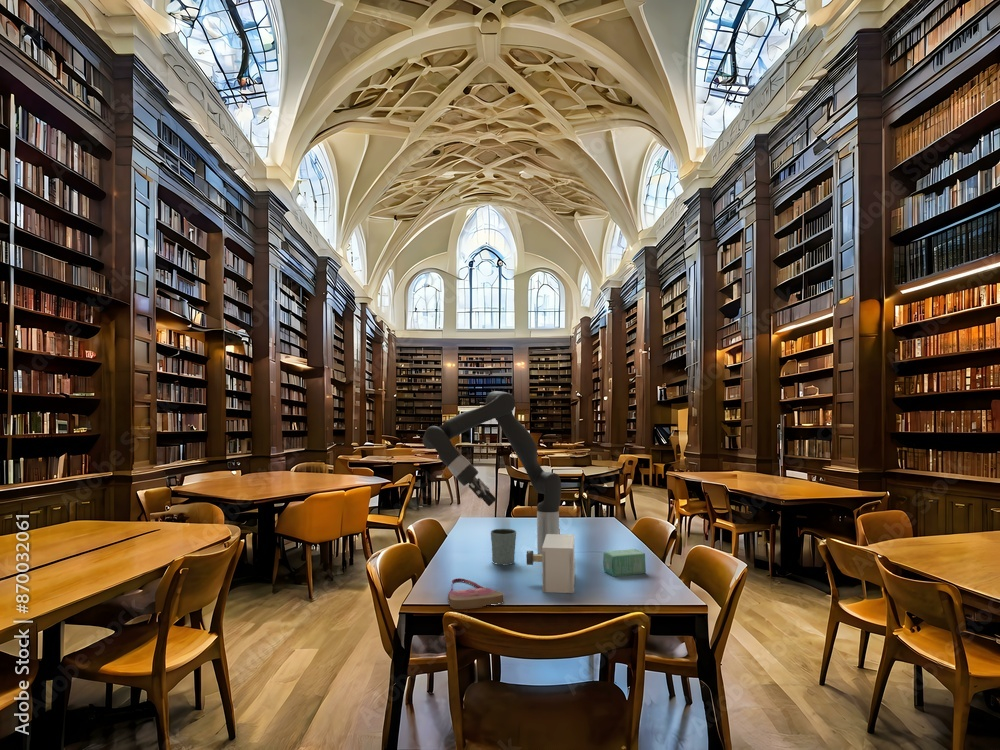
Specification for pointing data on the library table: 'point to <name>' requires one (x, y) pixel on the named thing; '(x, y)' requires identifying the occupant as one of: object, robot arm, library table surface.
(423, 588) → the library table surface
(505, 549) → the grey green cup
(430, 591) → the library table surface
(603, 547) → the library table surface
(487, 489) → the robot arm
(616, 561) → the box
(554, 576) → the console
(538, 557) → the knob
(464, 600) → the shoulder bag
